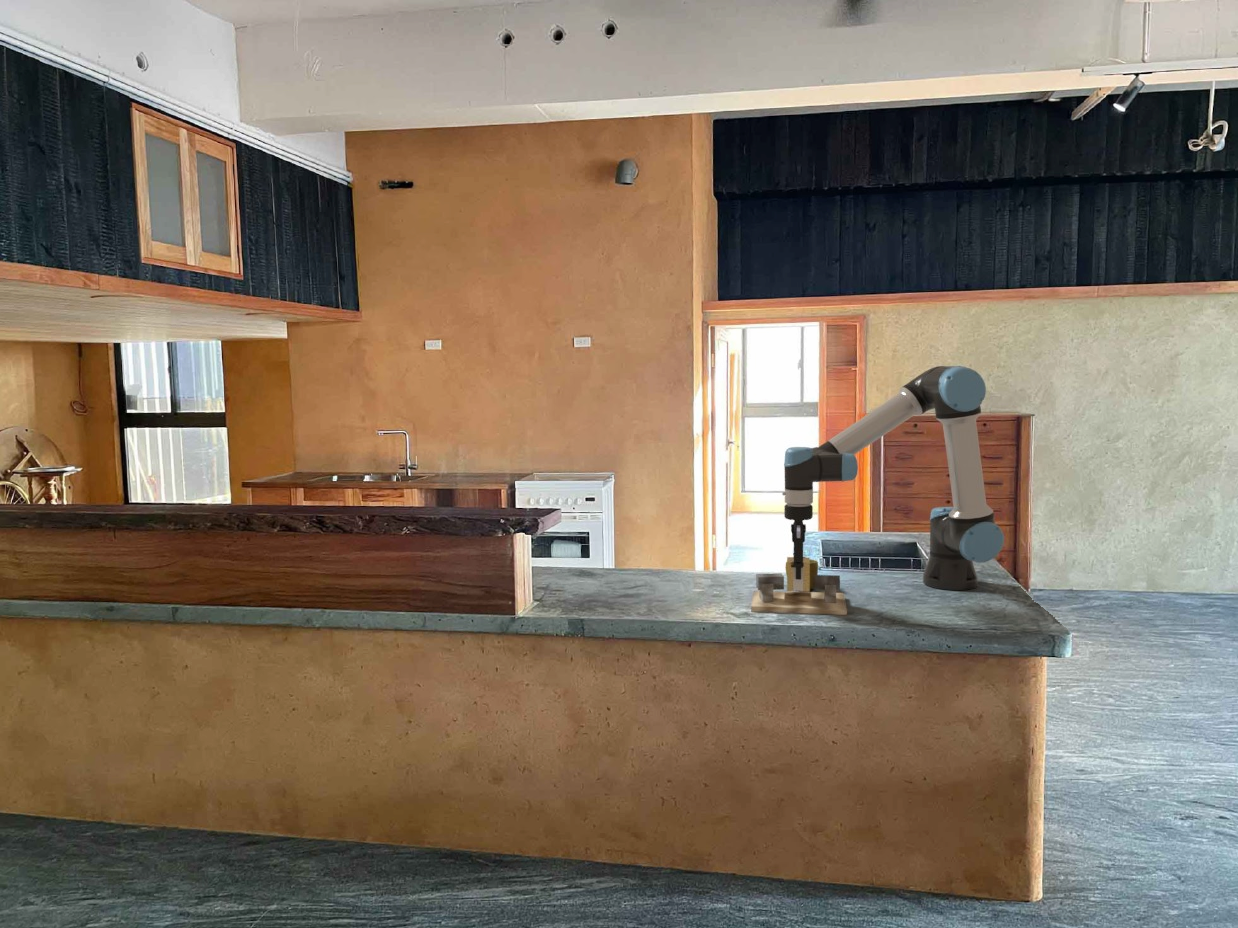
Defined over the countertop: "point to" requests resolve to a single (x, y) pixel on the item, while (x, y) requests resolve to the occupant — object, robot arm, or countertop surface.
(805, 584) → the tan cardboard block
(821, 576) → the shaft rig
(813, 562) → the mug
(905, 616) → the countertop surface
